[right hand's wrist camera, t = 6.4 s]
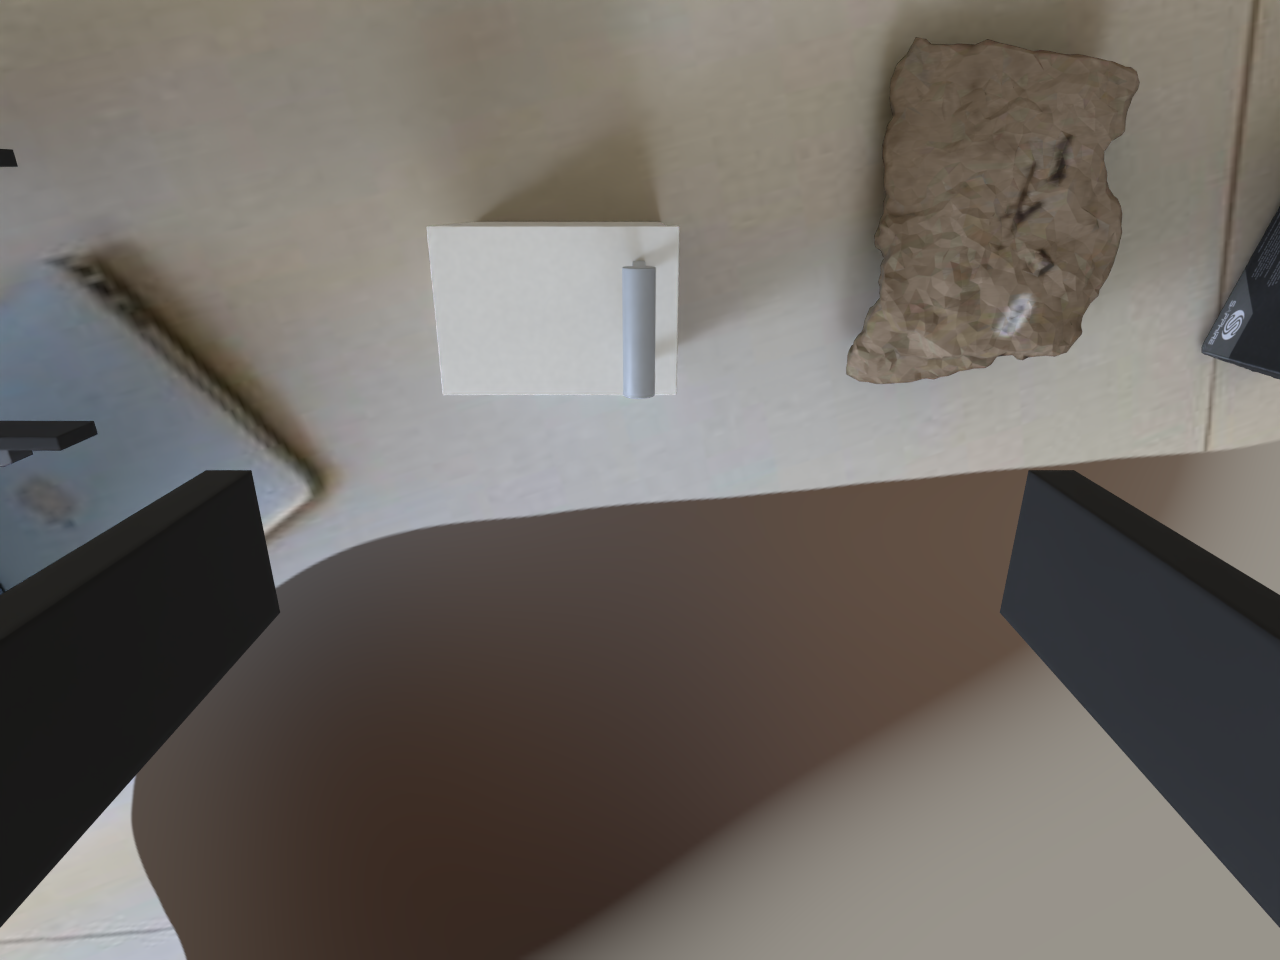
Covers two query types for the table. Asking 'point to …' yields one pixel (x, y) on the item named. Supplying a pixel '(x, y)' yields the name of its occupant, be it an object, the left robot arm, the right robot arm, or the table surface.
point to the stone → (991, 207)
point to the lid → (556, 309)
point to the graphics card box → (1252, 312)
